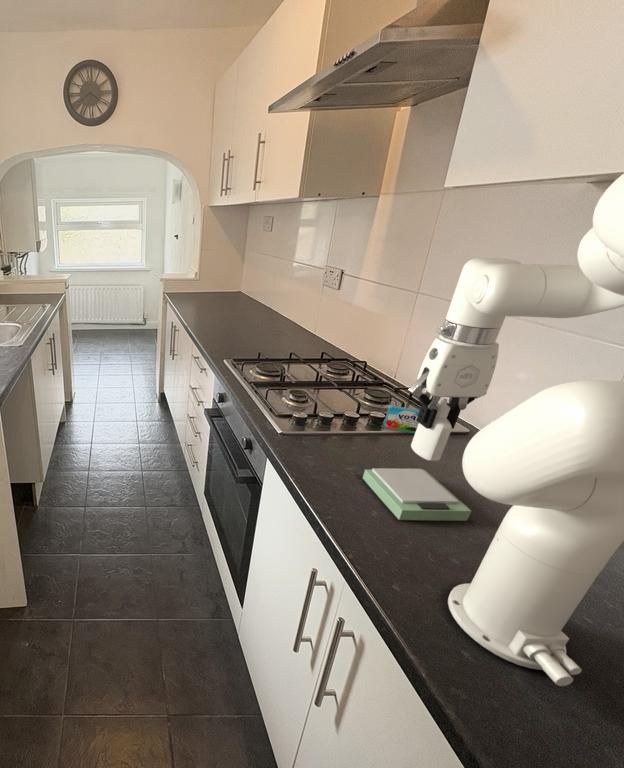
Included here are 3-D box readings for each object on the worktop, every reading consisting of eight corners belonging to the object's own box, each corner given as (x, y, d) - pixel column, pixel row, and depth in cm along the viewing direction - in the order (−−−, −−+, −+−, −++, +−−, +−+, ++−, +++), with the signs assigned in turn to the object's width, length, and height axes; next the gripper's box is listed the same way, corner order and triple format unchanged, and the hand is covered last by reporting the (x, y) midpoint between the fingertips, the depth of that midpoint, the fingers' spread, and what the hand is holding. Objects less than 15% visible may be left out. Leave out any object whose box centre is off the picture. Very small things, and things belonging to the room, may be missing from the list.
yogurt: (383, 427, 111) (390, 407, 109) (383, 424, 113) (389, 404, 110) (438, 438, 106) (446, 417, 104) (437, 435, 108) (444, 414, 105)
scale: (467, 520, 79) (472, 508, 78) (398, 520, 79) (403, 507, 78) (421, 478, 91) (426, 467, 90) (362, 478, 91) (365, 467, 90)
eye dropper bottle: (435, 449, 83) (456, 396, 78) (440, 464, 78) (462, 408, 73) (409, 444, 85) (428, 391, 80) (412, 457, 80) (432, 402, 75)
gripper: (435, 339, 68) (403, 435, 76) (537, 339, 68) (494, 435, 76) (406, 326, 75) (379, 415, 83) (498, 326, 75) (463, 416, 82)
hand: (434, 424), depth 79 cm, fingers closed on eye dropper bottle, 3 cm apart
